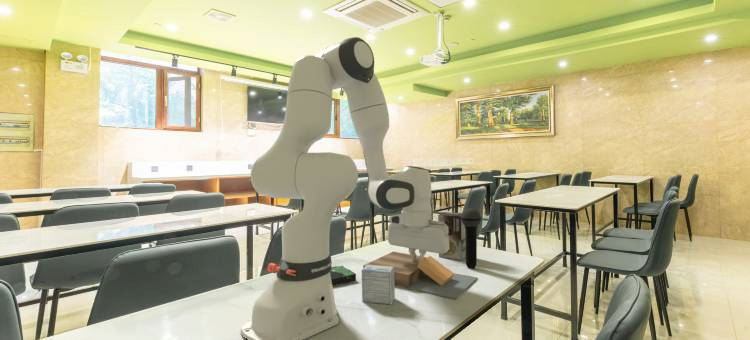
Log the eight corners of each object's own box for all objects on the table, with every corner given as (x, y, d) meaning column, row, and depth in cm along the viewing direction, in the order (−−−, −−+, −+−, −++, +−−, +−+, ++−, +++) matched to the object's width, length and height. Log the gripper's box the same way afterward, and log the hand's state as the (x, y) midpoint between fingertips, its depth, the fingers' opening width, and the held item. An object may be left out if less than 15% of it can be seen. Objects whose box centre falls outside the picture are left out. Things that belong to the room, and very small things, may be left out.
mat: (455, 299, 90) (455, 298, 90) (408, 288, 97) (408, 287, 97) (477, 278, 104) (477, 277, 104) (435, 270, 112) (435, 269, 112)
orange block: (441, 286, 98) (444, 280, 97) (417, 266, 102) (419, 261, 102) (451, 278, 104) (454, 273, 103) (427, 260, 108) (430, 255, 107)
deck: (408, 288, 97) (408, 274, 97) (363, 278, 106) (363, 265, 106) (435, 270, 112) (434, 258, 112) (393, 262, 121) (393, 251, 121)
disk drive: (310, 293, 97) (356, 282, 104) (310, 283, 97) (356, 273, 104) (298, 282, 106) (342, 272, 113) (298, 273, 105) (342, 264, 113)
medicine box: (395, 298, 91) (394, 266, 91) (391, 305, 87) (390, 271, 86) (366, 295, 93) (366, 264, 93) (361, 302, 89) (361, 269, 89)
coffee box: (467, 256, 128) (467, 213, 127) (461, 260, 123) (461, 216, 122) (444, 252, 133) (443, 211, 132) (437, 256, 127) (437, 214, 127)
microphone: (481, 271, 111) (481, 210, 110) (460, 270, 112) (460, 209, 112) (481, 265, 117) (480, 207, 116) (461, 264, 119) (460, 206, 118)
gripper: (452, 220, 101) (453, 266, 102) (395, 214, 114) (396, 255, 114) (443, 224, 96) (443, 272, 97) (384, 216, 109) (385, 259, 109)
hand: (417, 263), depth 106 cm, fingers closed
